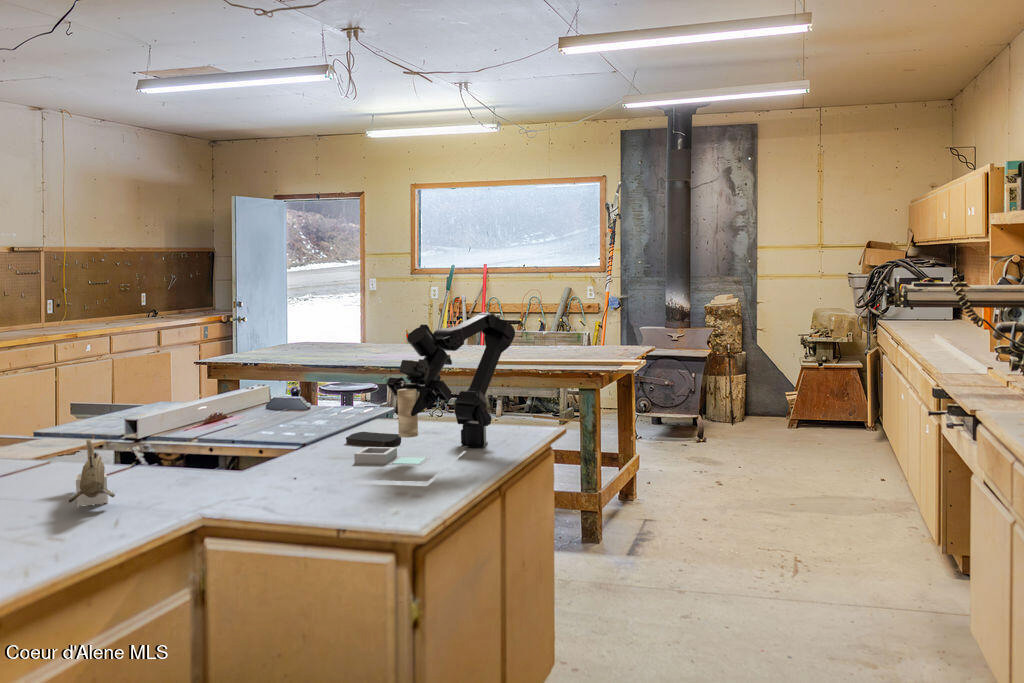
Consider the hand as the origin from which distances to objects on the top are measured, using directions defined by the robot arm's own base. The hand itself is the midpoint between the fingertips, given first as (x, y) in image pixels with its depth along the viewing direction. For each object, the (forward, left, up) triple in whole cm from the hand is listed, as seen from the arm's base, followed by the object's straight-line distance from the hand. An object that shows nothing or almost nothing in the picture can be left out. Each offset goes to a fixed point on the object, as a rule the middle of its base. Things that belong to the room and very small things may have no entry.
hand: (404, 414), depth 213 cm
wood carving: (+60, +41, -14) cm, 74 cm away
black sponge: (+17, -22, -14) cm, 31 cm away
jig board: (+4, -1, -13) cm, 14 cm away
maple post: (-1, -1, -6) cm, 6 cm away
